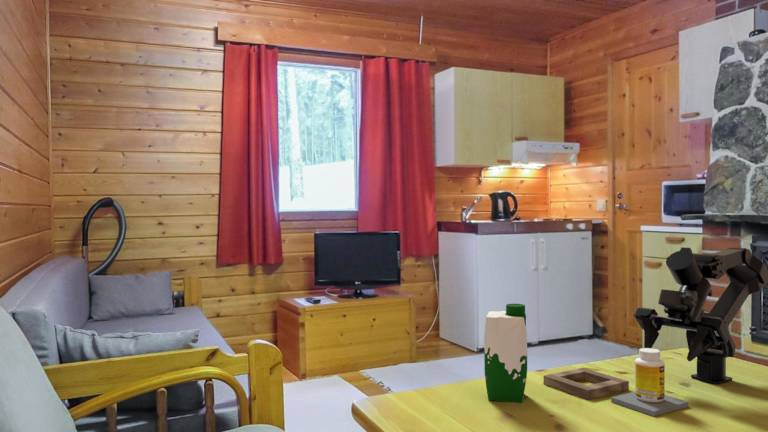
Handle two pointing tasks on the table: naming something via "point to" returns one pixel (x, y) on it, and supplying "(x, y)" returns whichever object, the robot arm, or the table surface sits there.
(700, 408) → the table surface
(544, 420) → the table surface
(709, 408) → the table surface
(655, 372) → the supplement bottle
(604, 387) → the walnut holder
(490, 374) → the milk carton
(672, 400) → the slate mat
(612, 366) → the table surface
